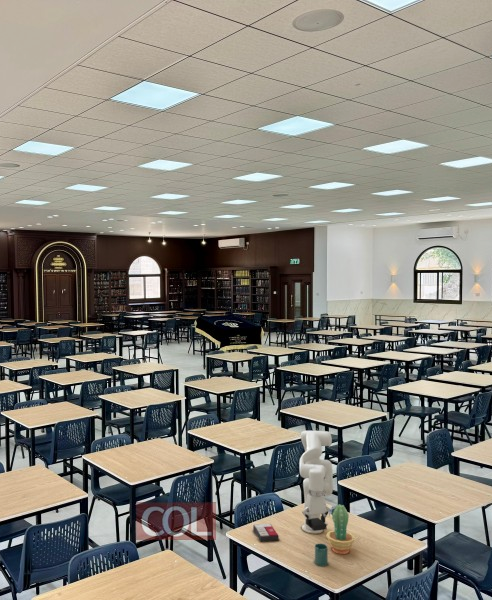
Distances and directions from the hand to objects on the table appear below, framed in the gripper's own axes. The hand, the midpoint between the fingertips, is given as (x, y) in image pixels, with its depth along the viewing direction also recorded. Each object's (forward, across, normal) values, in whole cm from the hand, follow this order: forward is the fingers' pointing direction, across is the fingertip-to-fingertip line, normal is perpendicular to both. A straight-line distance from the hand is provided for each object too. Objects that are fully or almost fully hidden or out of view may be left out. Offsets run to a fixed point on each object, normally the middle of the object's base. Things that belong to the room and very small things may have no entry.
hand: (316, 524), depth 297 cm
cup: (+20, -2, +2) cm, 20 cm away
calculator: (+20, +14, -36) cm, 43 cm away
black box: (+1, 0, 0) cm, 1 cm away
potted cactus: (+20, -20, -8) cm, 29 cm away
